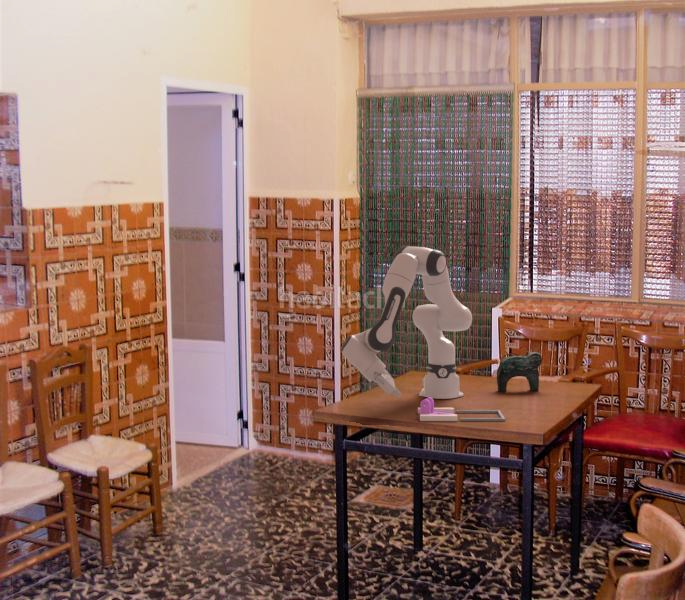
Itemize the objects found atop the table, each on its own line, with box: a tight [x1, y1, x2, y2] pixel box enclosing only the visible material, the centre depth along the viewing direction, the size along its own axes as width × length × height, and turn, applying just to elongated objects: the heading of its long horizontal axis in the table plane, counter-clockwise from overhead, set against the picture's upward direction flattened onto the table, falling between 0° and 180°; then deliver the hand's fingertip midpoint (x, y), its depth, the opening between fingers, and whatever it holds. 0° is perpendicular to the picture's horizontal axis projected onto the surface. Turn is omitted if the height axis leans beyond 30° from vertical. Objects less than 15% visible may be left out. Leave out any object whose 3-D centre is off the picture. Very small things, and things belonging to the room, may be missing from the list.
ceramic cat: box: [496, 344, 543, 393], centre depth 427 cm, size 20×6×20 cm, turn 97°
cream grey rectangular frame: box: [417, 407, 506, 422], centre depth 376 cm, size 15×32×2 cm, turn 89°
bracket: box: [419, 397, 453, 415], centre depth 376 cm, size 13×6×7 cm, turn 67°
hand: (400, 396), depth 376 cm, fingers closed
